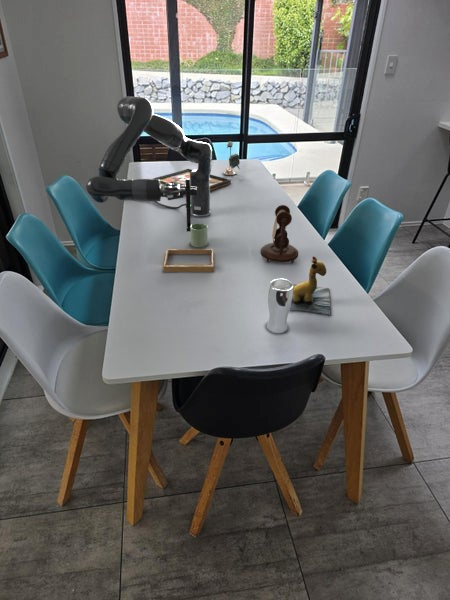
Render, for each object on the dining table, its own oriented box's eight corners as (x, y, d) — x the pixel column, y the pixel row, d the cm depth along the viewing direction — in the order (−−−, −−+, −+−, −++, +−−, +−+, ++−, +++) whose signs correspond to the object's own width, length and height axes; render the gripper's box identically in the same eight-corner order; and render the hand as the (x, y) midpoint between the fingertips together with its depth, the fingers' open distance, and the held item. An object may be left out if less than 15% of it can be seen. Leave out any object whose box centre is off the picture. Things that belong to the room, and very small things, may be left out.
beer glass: (263, 320, 122) (267, 278, 114) (286, 319, 123) (291, 277, 114) (267, 334, 116) (271, 291, 108) (291, 333, 117) (297, 290, 109)
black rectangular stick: (187, 227, 147) (185, 178, 137) (190, 227, 147) (189, 178, 137) (186, 231, 144) (185, 181, 134) (190, 231, 144) (189, 182, 134)
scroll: (259, 247, 164) (263, 200, 153) (295, 249, 164) (301, 201, 153) (261, 265, 152) (265, 215, 141) (299, 266, 151) (306, 216, 140)
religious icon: (234, 181, 237) (234, 177, 236) (200, 198, 212) (200, 193, 211) (183, 171, 254) (183, 166, 252) (146, 185, 229) (146, 180, 227)
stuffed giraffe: (330, 315, 125) (337, 269, 116) (272, 310, 128) (275, 265, 119) (328, 290, 138) (334, 247, 130) (276, 286, 141) (279, 244, 133)
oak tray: (163, 272, 146) (163, 266, 145) (167, 254, 158) (166, 249, 156) (213, 272, 147) (213, 266, 145) (212, 254, 158) (212, 249, 157)
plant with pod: (241, 175, 249) (242, 141, 238) (223, 175, 247) (224, 141, 236) (238, 171, 256) (240, 138, 244) (221, 172, 254) (221, 138, 243)
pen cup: (191, 240, 168) (190, 223, 164) (207, 240, 169) (207, 223, 164) (190, 248, 163) (189, 230, 158) (207, 248, 163) (207, 230, 158)
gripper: (143, 185, 130) (196, 186, 131) (148, 173, 142) (197, 174, 143) (145, 207, 135) (196, 208, 135) (149, 194, 146) (197, 194, 147)
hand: (196, 190), depth 139 cm, fingers closed on black rectangular stick, 1 cm apart
